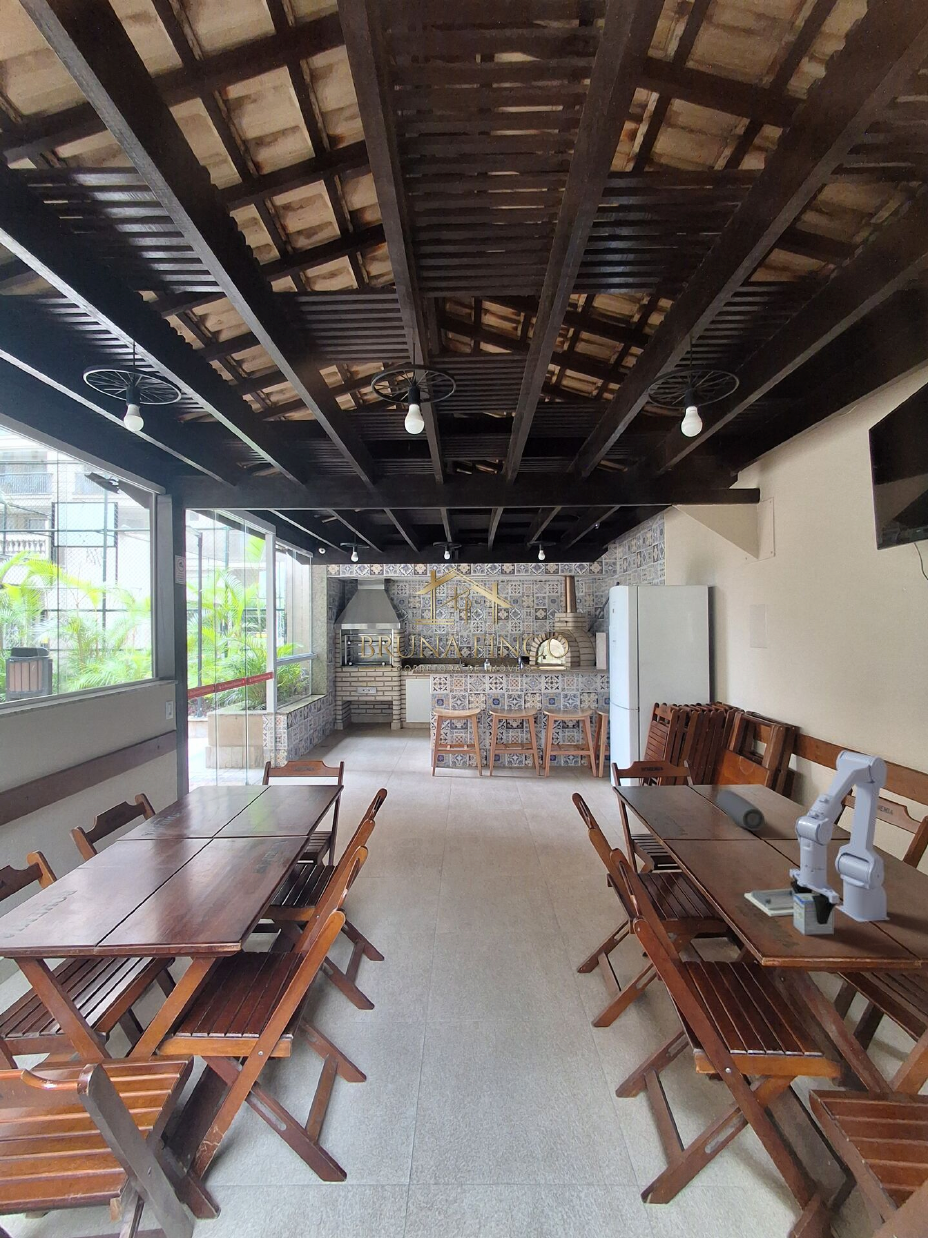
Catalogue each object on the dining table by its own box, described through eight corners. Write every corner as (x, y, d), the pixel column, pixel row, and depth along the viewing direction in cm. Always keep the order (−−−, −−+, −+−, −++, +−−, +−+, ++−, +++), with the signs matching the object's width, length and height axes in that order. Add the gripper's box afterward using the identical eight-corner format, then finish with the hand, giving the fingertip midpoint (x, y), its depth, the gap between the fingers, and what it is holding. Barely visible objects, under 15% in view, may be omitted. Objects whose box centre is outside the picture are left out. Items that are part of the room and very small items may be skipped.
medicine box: (822, 925, 145) (822, 892, 145) (834, 935, 141) (834, 901, 141) (793, 926, 145) (793, 893, 145) (804, 935, 140) (804, 901, 140)
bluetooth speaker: (766, 834, 206) (766, 807, 206) (741, 834, 207) (741, 807, 207) (737, 812, 229) (737, 788, 229) (715, 812, 229) (715, 788, 229)
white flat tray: (791, 892, 162) (791, 882, 162) (820, 912, 151) (820, 901, 151) (744, 896, 160) (744, 885, 160) (770, 916, 149) (770, 905, 149)
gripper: (779, 853, 149) (779, 903, 149) (821, 878, 135) (821, 934, 135) (803, 852, 150) (803, 902, 150) (847, 877, 136) (847, 932, 136)
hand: (813, 917), depth 143 cm, fingers open, 5 cm apart
